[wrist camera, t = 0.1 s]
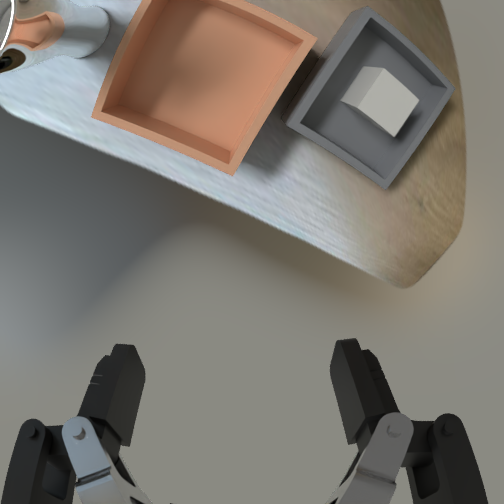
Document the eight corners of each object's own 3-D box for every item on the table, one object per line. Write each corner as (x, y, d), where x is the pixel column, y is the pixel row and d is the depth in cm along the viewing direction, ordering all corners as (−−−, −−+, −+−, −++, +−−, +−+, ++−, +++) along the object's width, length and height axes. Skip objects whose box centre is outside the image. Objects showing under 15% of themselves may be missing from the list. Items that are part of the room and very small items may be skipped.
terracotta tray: (172, -13, 17) (159, -27, 13) (304, 43, 21) (317, 38, 17) (113, 107, 24) (91, 117, 20) (234, 158, 28) (232, 176, 24)
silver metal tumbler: (126, 26, 19) (32, 10, 7) (79, 74, 21) (-24, 102, 9) (92, -9, 15) (-3, -31, 3) (49, 38, 18) (-54, 52, 5)
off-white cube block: (363, 66, 21) (383, 68, 18) (396, 93, 23) (419, 100, 19) (340, 100, 24) (357, 107, 20) (374, 125, 25) (394, 137, 22)
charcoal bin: (351, 12, 19) (367, 5, 15) (434, 83, 22) (455, 88, 19) (280, 118, 26) (287, 126, 23) (370, 175, 30) (385, 190, 26)
